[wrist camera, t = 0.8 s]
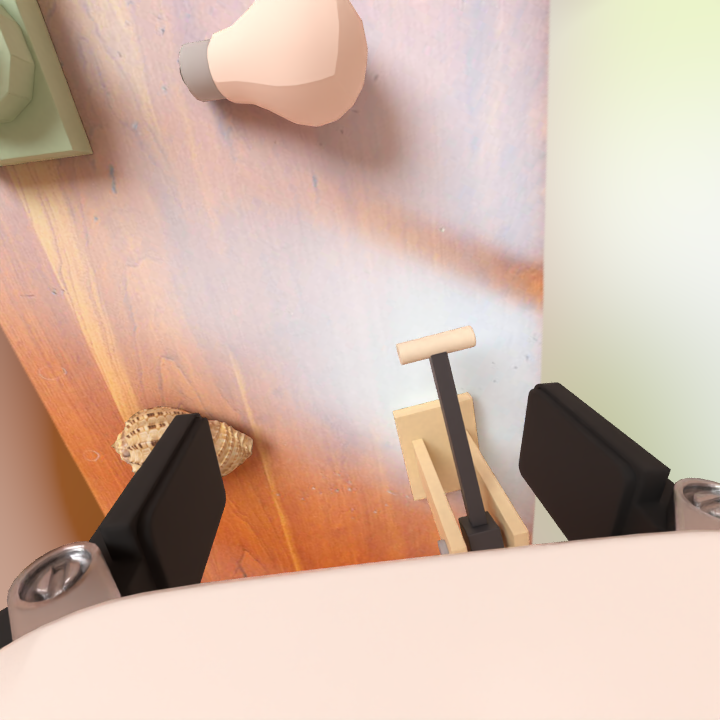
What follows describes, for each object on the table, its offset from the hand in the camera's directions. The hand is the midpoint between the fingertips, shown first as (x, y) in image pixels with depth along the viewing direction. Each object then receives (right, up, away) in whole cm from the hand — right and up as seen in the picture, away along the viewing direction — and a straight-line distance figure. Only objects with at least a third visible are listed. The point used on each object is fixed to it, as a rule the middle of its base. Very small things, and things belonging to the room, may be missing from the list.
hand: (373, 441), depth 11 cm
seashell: (-15, -4, +22) cm, 27 cm away
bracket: (+7, -6, +25) cm, 27 cm away
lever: (+6, -4, +16) cm, 18 cm away
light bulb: (-6, +20, +13) cm, 25 cm away
